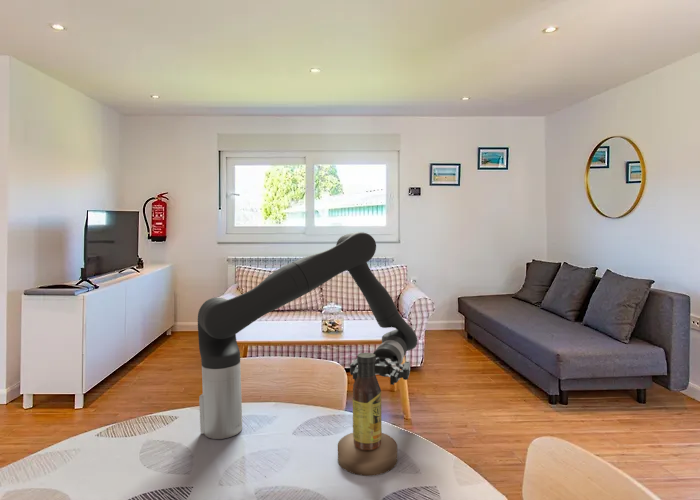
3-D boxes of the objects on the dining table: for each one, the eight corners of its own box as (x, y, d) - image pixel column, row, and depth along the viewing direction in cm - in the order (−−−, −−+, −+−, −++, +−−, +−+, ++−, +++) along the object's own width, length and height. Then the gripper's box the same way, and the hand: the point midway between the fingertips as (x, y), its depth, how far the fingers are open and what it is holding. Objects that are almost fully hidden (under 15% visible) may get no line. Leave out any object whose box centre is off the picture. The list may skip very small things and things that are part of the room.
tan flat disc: (329, 470, 90) (329, 456, 89) (347, 440, 102) (347, 427, 102) (391, 480, 86) (390, 465, 86) (402, 447, 98) (402, 434, 98)
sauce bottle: (379, 453, 90) (378, 360, 89) (350, 451, 91) (349, 359, 90) (383, 438, 97) (382, 351, 95) (356, 436, 98) (354, 350, 97)
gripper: (362, 341, 116) (343, 360, 101) (414, 345, 112) (404, 365, 97) (362, 369, 117) (344, 391, 101) (415, 373, 113) (404, 397, 97)
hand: (373, 378), depth 99 cm, fingers open, 8 cm apart
